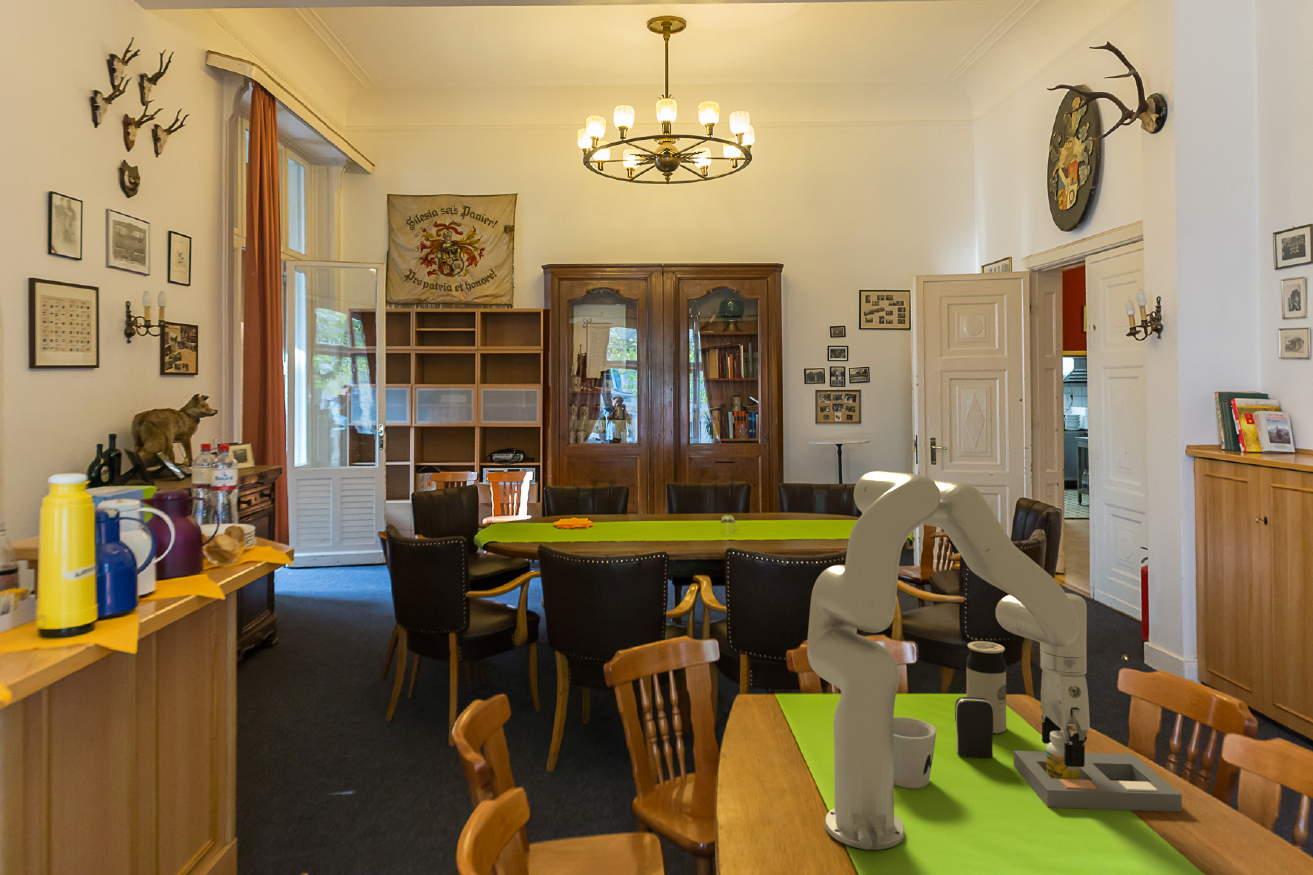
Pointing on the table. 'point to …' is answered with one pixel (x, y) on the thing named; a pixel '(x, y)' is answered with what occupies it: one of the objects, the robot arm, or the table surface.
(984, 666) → the travel mug
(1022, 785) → the table surface
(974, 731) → the battery charger
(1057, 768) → the supplement bottle
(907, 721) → the mug
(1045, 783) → the socket board
